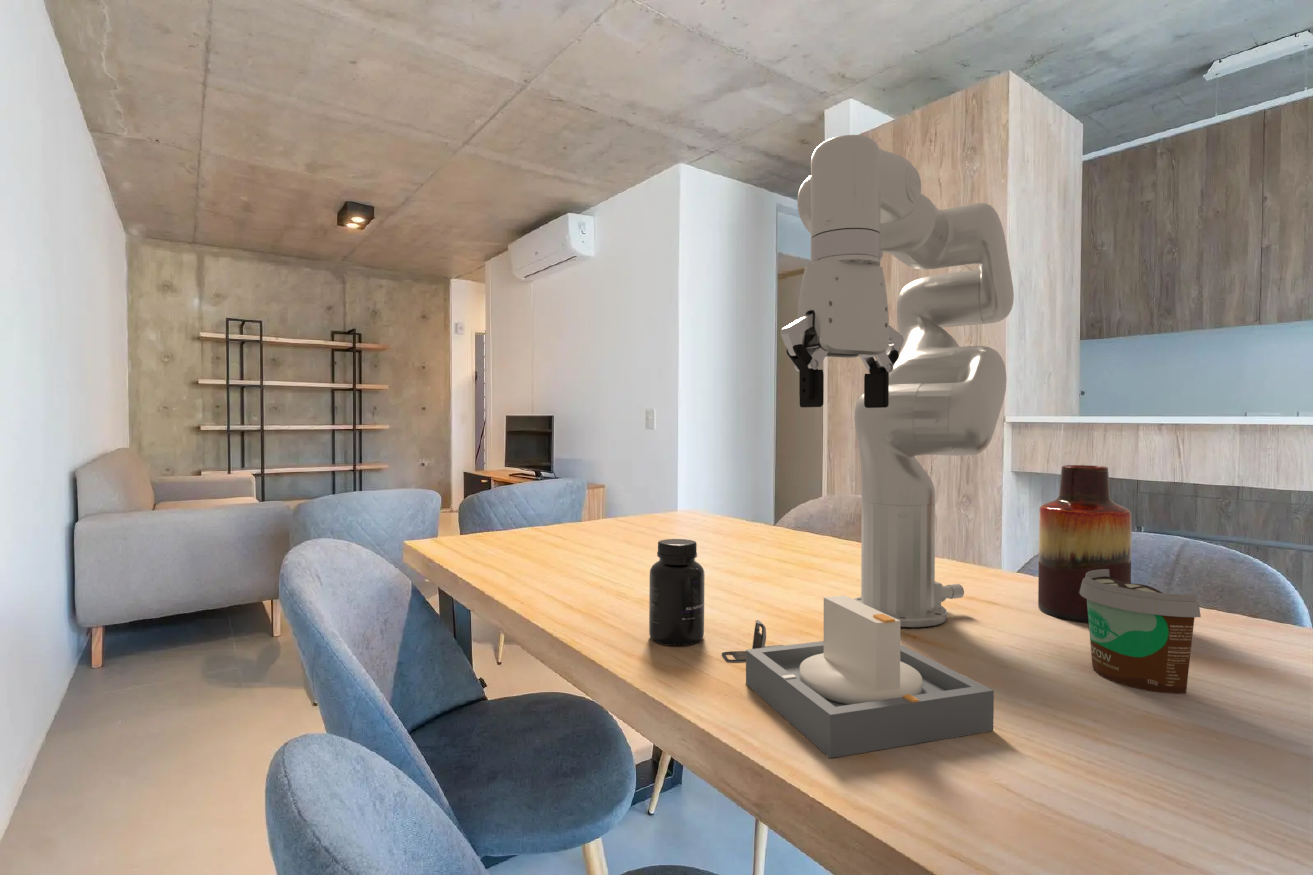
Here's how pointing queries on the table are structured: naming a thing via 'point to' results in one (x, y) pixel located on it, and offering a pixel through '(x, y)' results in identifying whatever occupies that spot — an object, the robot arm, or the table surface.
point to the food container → (1139, 633)
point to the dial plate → (870, 704)
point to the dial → (859, 656)
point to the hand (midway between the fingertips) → (844, 407)
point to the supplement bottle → (676, 594)
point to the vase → (1080, 540)
